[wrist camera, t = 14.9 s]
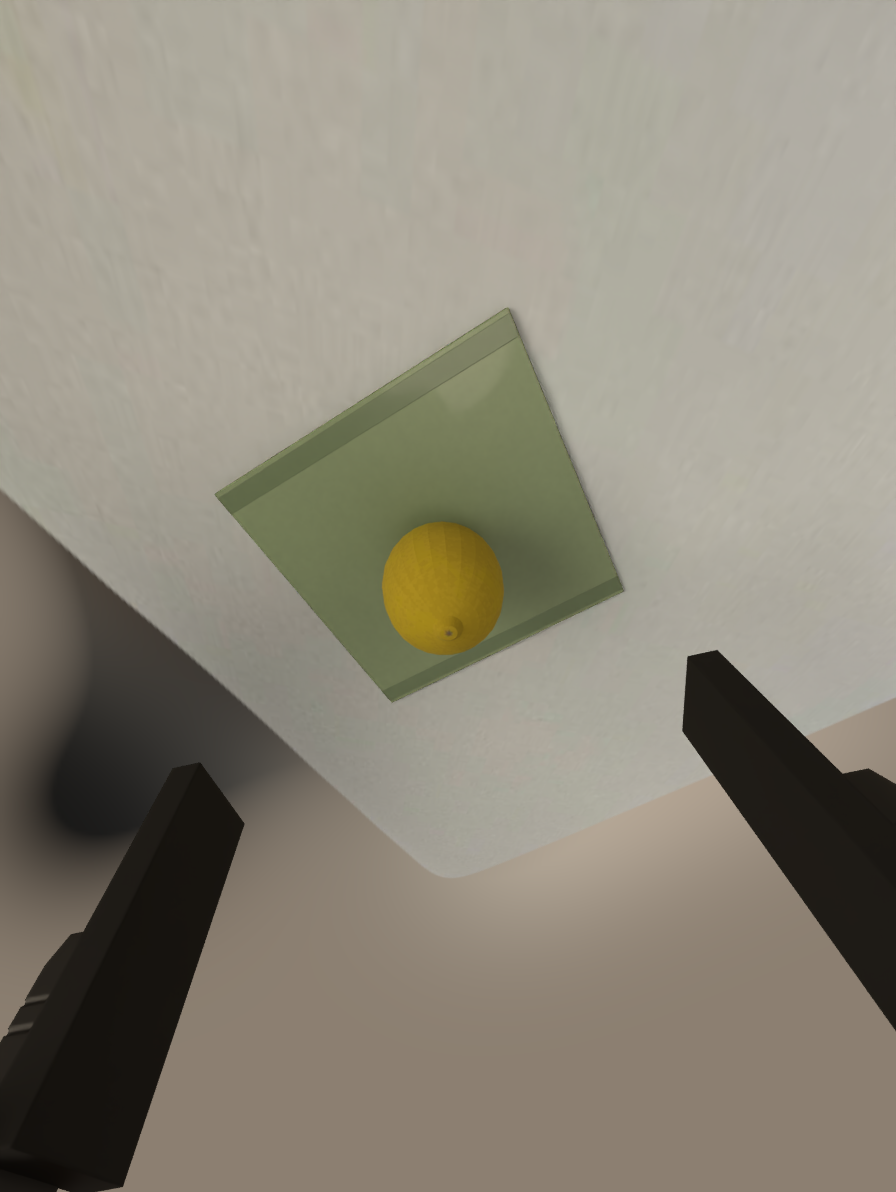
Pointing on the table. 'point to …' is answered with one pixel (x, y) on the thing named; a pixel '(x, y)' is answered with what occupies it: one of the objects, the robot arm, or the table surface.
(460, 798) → the table surface
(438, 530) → the lemon
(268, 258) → the table surface
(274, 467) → the napkin
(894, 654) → the table surface
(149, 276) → the table surface
